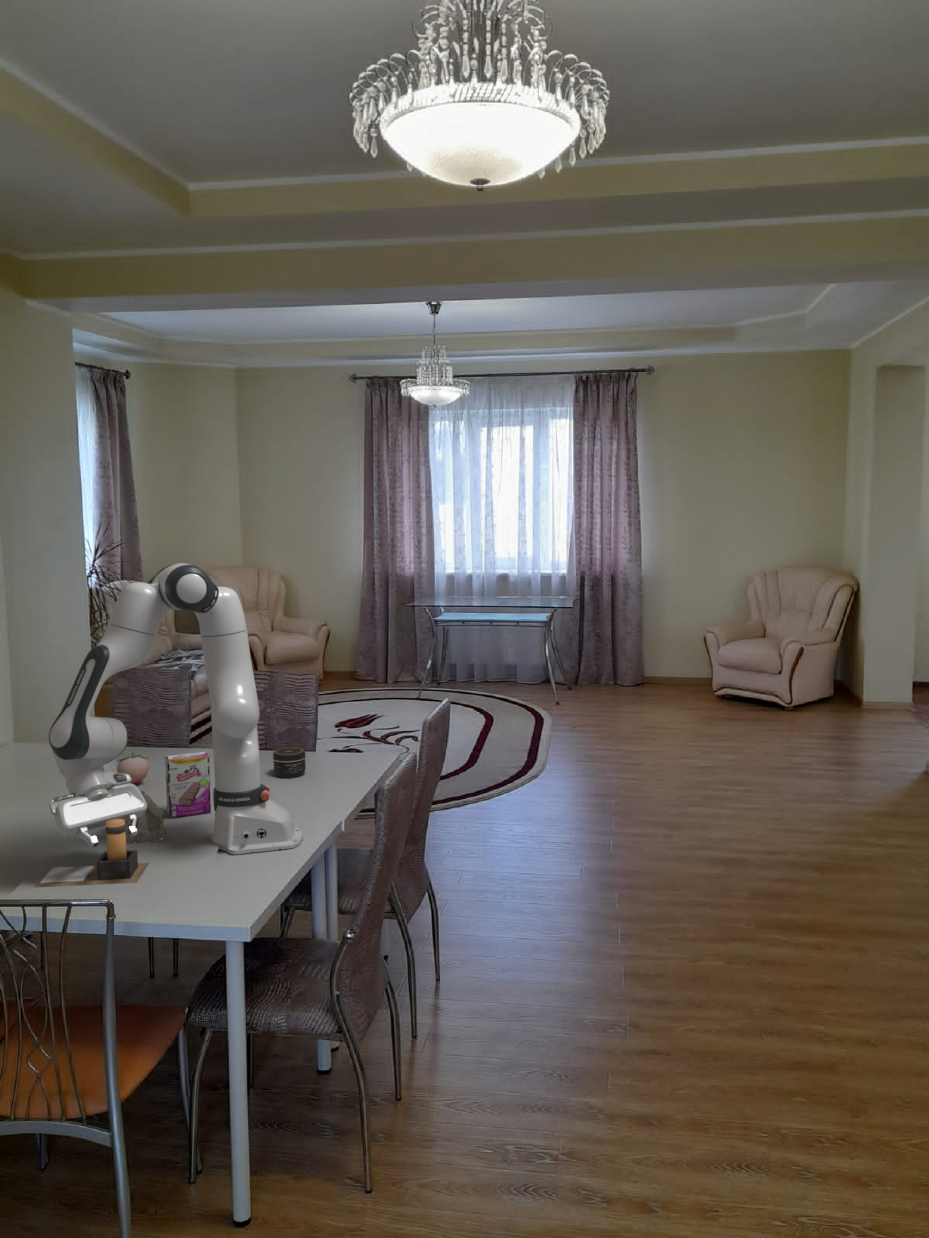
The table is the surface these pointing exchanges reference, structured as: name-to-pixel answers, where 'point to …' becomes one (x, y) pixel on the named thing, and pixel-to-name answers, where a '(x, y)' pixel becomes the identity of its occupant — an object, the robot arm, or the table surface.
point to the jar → (289, 762)
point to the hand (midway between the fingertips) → (114, 840)
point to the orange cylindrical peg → (116, 839)
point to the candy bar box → (188, 784)
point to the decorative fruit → (134, 767)
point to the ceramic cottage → (148, 824)
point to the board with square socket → (96, 872)
